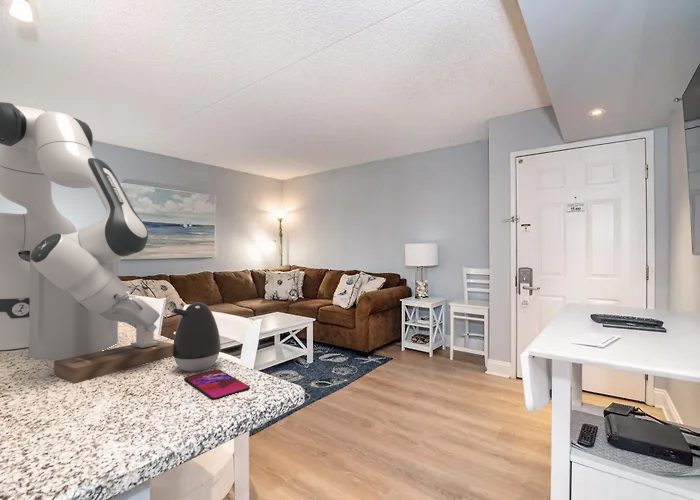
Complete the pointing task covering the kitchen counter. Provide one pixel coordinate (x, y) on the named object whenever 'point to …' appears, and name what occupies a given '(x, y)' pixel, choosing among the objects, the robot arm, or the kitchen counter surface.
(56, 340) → the grey box
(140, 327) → the fader tab
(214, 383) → the smartphone
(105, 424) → the kitchen counter surface
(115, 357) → the board
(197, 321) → the pump dispenser
